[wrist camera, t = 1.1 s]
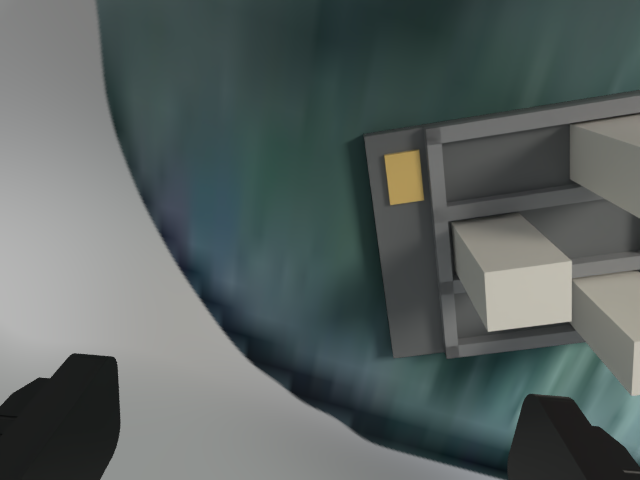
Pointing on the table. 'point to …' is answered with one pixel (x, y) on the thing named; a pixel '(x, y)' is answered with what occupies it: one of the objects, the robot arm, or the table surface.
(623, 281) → the block
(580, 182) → the tab inner
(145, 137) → the table surface
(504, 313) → the tab middle
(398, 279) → the switch box
